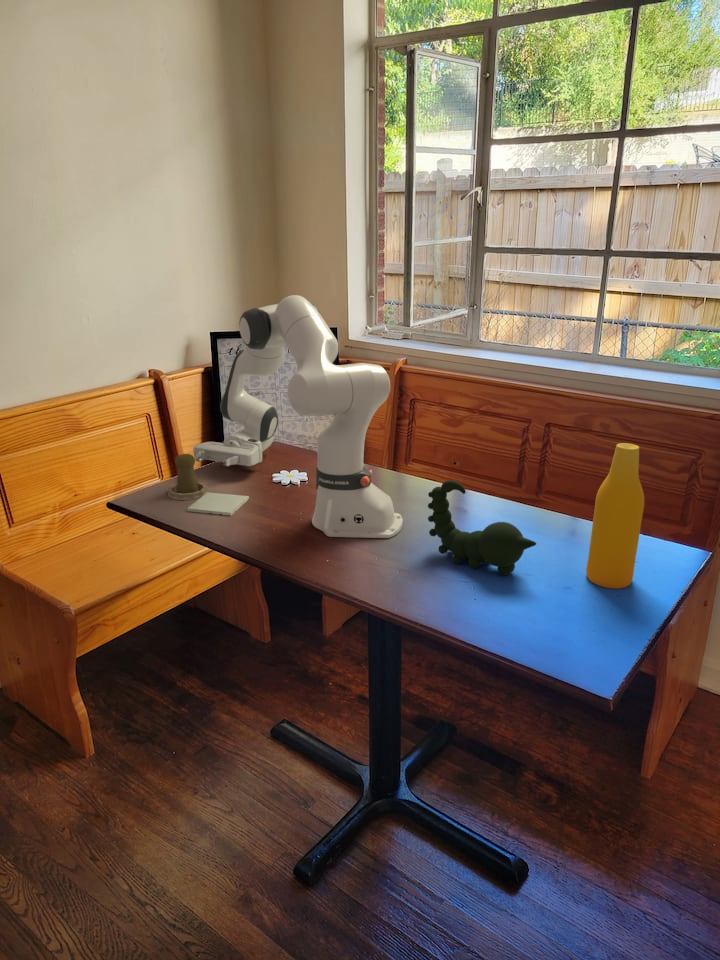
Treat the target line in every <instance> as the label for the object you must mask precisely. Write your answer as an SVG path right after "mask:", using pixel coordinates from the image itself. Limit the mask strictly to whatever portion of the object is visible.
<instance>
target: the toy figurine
mask: <svg viewBox="0 0 720 960" xmlns="http://www.w3.org/2000/svg"><path fill="white" fill-rule="evenodd" d="M454 490H456V491H458V492H460V493H462V495H464V494H466V489H465V488H464V485H463V484H462V483H460V482H459V481H457V480H454V479H449V480H446V481H444V482H442V484H441V486H436V487H434V488H433V489H432V490H431V491H429V492H428V494H427V495H428V497H429V498H431V499H432V500H431V502H428V505H427V507H428V508H427V509H430V510H432V511H433V512H432V515H429V516H428V517H427V520H428V522H429V523H434V528H431V529H429V531H428V532H429V533H428V534H429V535H430V537H436V536H437V537H438V538H440V540H441V541H440V543H441V545H439V546H438V553H440V554H441V555H444V554H447V553H448V551H450V552H451V554H452V555H453V557H452V562H453V563H454V564H457V565H458V564H459V565H460V564H461V563H462V562H463V561H466V560H468V564H469V567H470V568H473V569H477V568H480V567H481V565H482V563H485V562H487V563H488V564H489V565H491V566H494V567H497V572H498V573H499V574H500V575H502V576H508V575H509V576H510V574H512V573H513V572H514V571H515V568H516V565H515V564H516V563H517V562H518V561H520V559H521V558H522V556H523V554H524V551H526V550H527V549H529V548H532V547H534V546H536V545H537V542H536V541H535V540H531V539H528V538H526V537H524V536H523V533H522V532H521V531H520V529H519V528H517V527H516V526H515V525H514V524H512V523H510V522H505V521H498V522H493V523H491V524H489V525H487V526H486V527H485V528H484V529H483V530H475V531H472V532H468V531H461V530H460V529H458V528H456V525H455V523H454V522H453V520H452V513H451V511H450V510H449V507H450V501H449V500H448V499H447V497H448V493H451V492H452V491H454Z"/></svg>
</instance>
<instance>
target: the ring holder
mask: <svg viewBox="0 0 720 960" xmlns="http://www.w3.org/2000/svg"><path fill="white" fill-rule="evenodd" d="M197 485H198V490H199V491H197V492H194V493H185V494H183V493H177V483H174V484H171V485H170V486H168V487H167V496H168V498H170V499H172V500H178V501H191V500H196V499H197V500H198V499H200V498H201V497H202V496H204V495H205V494H206V493H208V492H209V491H208V487H207V484H206V483H205V482H204V483H203V482H201V481H197Z"/></svg>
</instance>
